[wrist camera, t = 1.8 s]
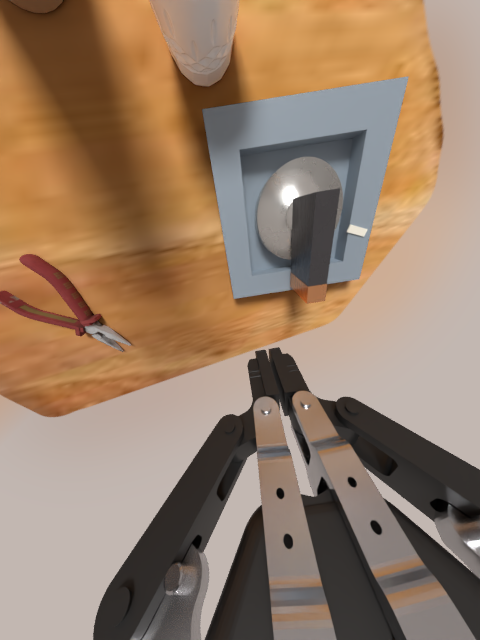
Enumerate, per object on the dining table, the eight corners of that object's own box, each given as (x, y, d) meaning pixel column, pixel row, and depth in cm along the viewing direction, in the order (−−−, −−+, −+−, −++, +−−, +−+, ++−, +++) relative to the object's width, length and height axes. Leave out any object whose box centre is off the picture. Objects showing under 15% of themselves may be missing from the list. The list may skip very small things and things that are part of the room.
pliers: (114, 357, 38) (107, 366, 36) (3, 293, 29) (-15, 299, 27) (146, 330, 35) (141, 337, 33) (35, 249, 26) (18, 252, 24)
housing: (204, 123, 20) (201, 108, 18) (385, 94, 20) (410, 75, 18) (233, 292, 32) (233, 299, 29) (348, 274, 32) (359, 279, 29)
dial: (250, 169, 22) (265, 142, 14) (340, 155, 22) (404, 120, 14) (259, 285, 31) (272, 309, 23) (324, 275, 31) (359, 295, 23)
